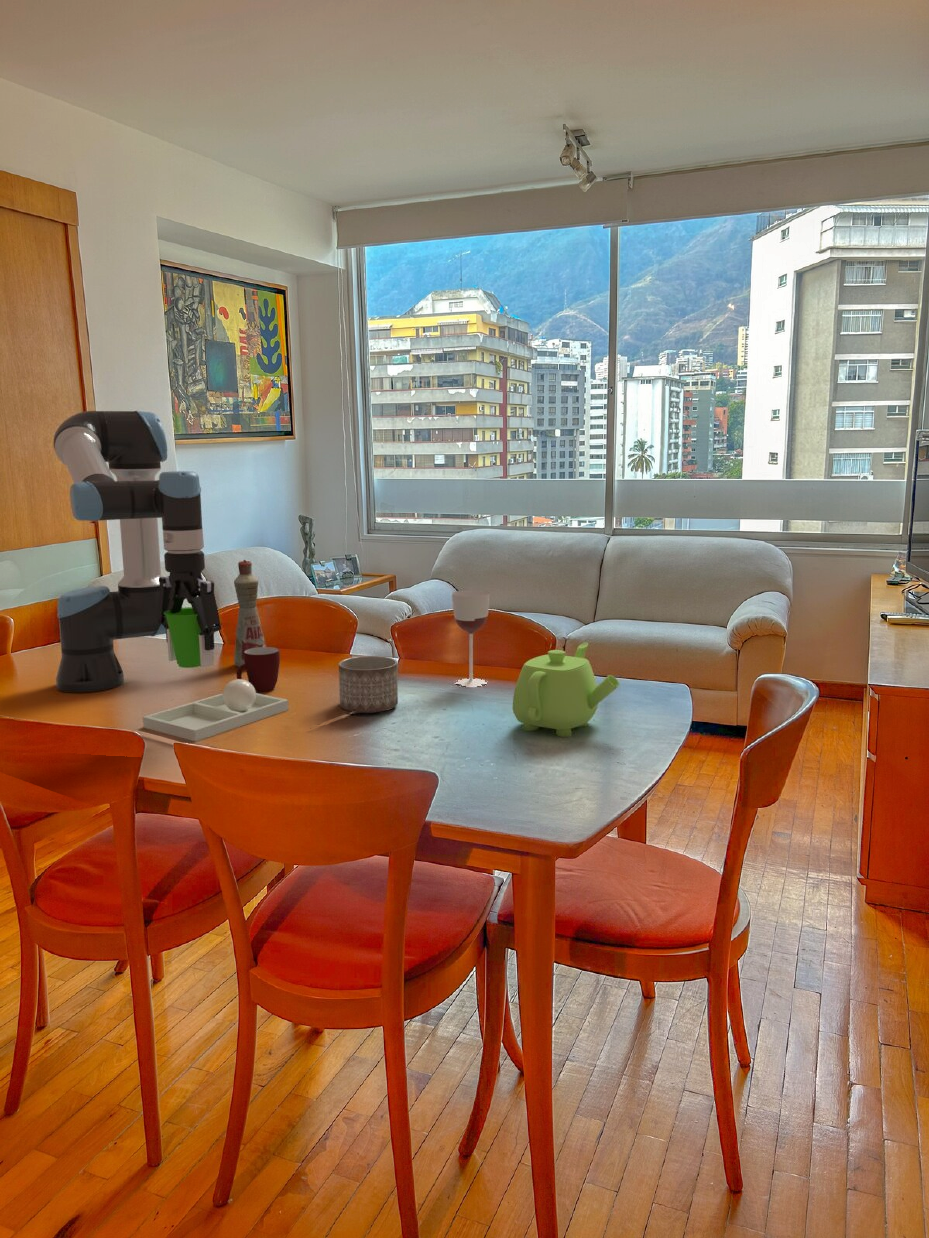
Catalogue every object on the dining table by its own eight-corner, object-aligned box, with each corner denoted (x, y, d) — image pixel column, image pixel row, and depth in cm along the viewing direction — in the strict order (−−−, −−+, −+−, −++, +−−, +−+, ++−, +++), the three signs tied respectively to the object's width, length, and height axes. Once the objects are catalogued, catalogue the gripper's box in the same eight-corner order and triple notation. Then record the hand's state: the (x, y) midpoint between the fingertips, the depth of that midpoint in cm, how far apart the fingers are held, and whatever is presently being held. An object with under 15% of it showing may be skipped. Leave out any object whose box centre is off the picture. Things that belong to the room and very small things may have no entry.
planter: (373, 697, 206) (372, 653, 204) (409, 708, 198) (408, 662, 196) (328, 708, 198) (326, 662, 196) (364, 720, 189) (363, 672, 187)
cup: (223, 662, 183) (220, 608, 181) (193, 672, 175) (189, 616, 173) (189, 657, 187) (185, 605, 184) (157, 667, 178) (153, 613, 176)
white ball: (216, 712, 192) (214, 680, 191) (241, 704, 198) (239, 673, 196) (238, 717, 188) (237, 685, 187) (263, 709, 194) (262, 678, 193)
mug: (251, 701, 203) (249, 658, 201) (230, 695, 208) (227, 653, 206) (288, 691, 211) (286, 650, 209) (266, 685, 216) (264, 645, 214)
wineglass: (446, 685, 215) (446, 595, 211) (461, 676, 224) (461, 589, 220) (480, 689, 212) (480, 597, 208) (494, 679, 221) (495, 591, 217)
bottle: (252, 659, 242) (247, 556, 237) (275, 664, 237) (271, 559, 232) (227, 666, 235) (221, 560, 230) (250, 671, 230) (244, 562, 225)
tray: (143, 730, 182) (142, 716, 182) (237, 701, 203) (237, 688, 202) (196, 745, 174) (195, 730, 173) (288, 713, 194) (288, 699, 193)
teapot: (594, 753, 169) (596, 671, 165) (495, 734, 180) (495, 657, 177) (643, 718, 189) (646, 645, 186) (551, 703, 201) (552, 634, 197)
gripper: (132, 549, 179) (141, 659, 184) (206, 556, 167) (213, 673, 172) (164, 546, 185) (171, 652, 190) (236, 552, 173) (243, 665, 178)
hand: (191, 662), depth 181 cm, fingers closed on cup, 9 cm apart
